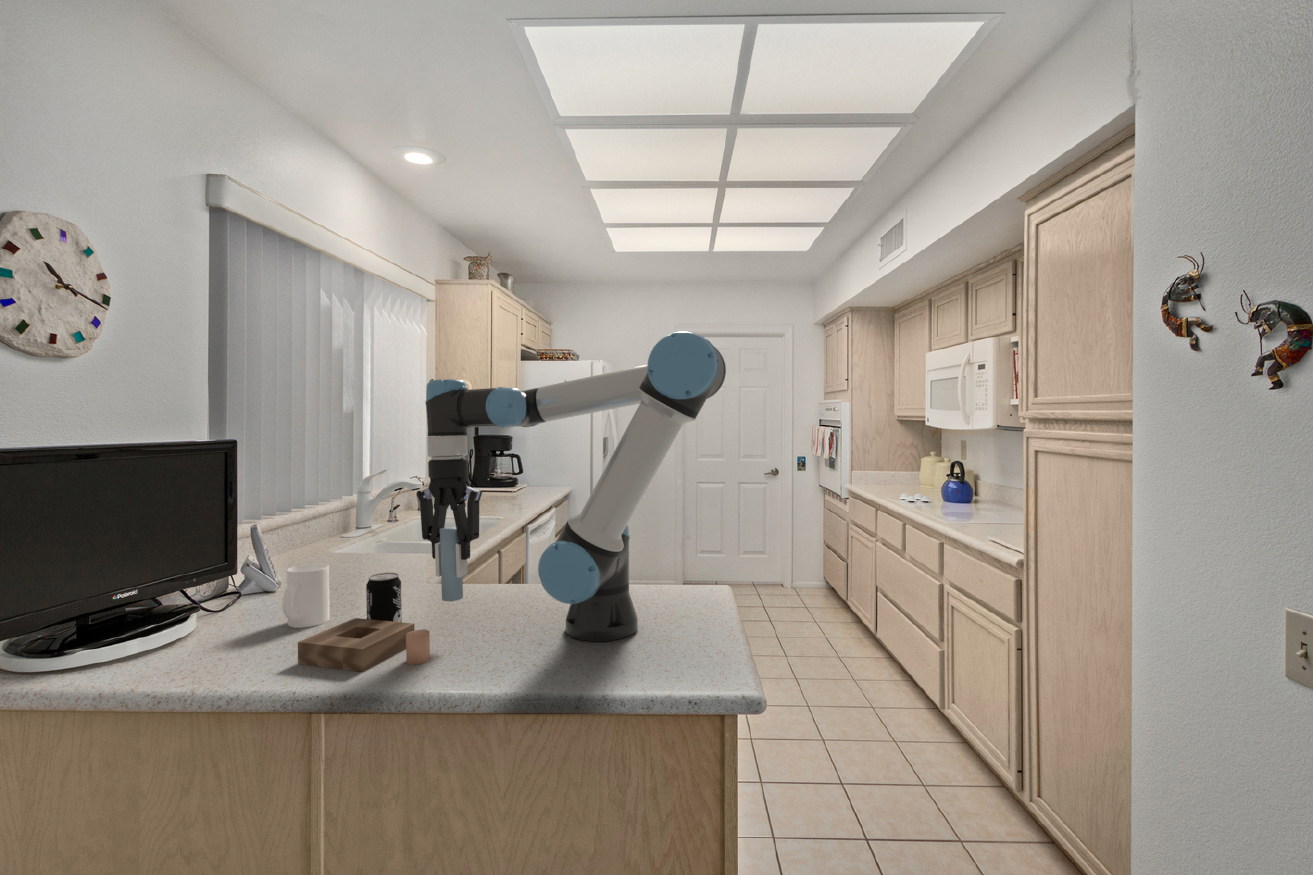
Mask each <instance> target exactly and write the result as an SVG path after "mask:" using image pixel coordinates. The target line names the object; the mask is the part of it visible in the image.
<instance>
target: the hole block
mask: <svg viewBox="0 0 1313 875" xmlns="http://www.w3.org/2000/svg"><path fill="white" fill-rule="evenodd" d="M414 630H415V623H414V622H413V623H412V622H403V621H402V622H392V621H381V620H371V619H367V618H359V617H354V618H352V619H349V620H347V621H345V622H342V623H340V624H338V625H335V626H332V627H331V628H328V629H326V630H323V631H320V632H318V633H316V634H313V635H311V636H309V637H306V638H304V639H302V640H298V641H297V664H298V665H302V664H305V665H304V666H310V665H312V666H311V667H318V666H320V668H327V667H328V668H329V669H335V670H346V671H353V672H354V671H355V672H360V673H363V672H366V671H367V670H369V669H371V668H373V667H375V666H376V665H378V664H381V663H382V662H384V661H386V660H388V659H390V658H391V657H393V656H395V655H396V654H399V653H400V652H402V651H404V650H406V634H407V633H408V632H411V631H414ZM313 665H314V666H313ZM328 668H327V669H328Z"/></svg>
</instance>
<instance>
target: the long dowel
mask: <svg viewBox="0 0 1313 875" xmlns="http://www.w3.org/2000/svg"><path fill="white" fill-rule="evenodd" d="M457 542H459V538H458V534H457V529H456V526H448V527H447V526H446V527H445V526H444V528H441V529H440V554H441V576H440V578H441V582H440V584H441V601H443V602H456V601H459V600H462V599H464V588H463V587H464V586H463V584H464V583H463V579H464V578H463V576H462V577H457V575H456V544H458V543H457Z"/></svg>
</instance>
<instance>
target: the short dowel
mask: <svg viewBox="0 0 1313 875" xmlns="http://www.w3.org/2000/svg"><path fill="white" fill-rule="evenodd" d="M430 637H431V636H430V631H429V630H428V629H416V630H415V629H414V631H411V632H408V633H407V634H406V649H405V651H406V655H405V656H406V657H405V658H406V664H408V665H415V666H416V665H421V664H425V663H427V662H429V661H430V659H431V653H430V652H431V651H430V650H431V649H430V647H431V643H430V640H431V639H430Z"/></svg>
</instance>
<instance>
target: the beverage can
mask: <svg viewBox="0 0 1313 875" xmlns="http://www.w3.org/2000/svg"><path fill="white" fill-rule="evenodd" d="M399 575H400V574H399V573H397V572H381V573H380V572H379V573H375V574H372V575H369V577H368V580H367V583H366V586H365V588H366V589H365V590H366V591H365V592H366V594H365V595H366V597H365V598H366V619H371V620H381V621H392V622H403V620H402V619H403V618H402V581H401V579H400V578H399Z"/></svg>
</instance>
